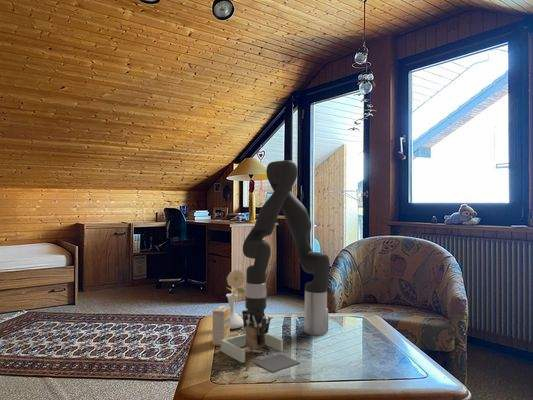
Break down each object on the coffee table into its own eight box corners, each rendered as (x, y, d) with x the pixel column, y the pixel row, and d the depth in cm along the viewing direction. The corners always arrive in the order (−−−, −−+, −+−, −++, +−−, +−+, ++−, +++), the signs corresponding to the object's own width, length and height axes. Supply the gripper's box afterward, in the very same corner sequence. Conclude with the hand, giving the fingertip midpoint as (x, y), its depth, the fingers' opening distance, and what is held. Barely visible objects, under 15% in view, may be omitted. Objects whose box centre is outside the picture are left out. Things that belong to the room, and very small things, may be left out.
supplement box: (224, 346, 148) (224, 311, 149) (211, 345, 149) (212, 310, 150) (230, 339, 157) (230, 305, 157) (218, 338, 158) (219, 305, 158)
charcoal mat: (280, 354, 141) (280, 353, 141) (299, 363, 134) (299, 362, 134) (253, 362, 134) (253, 361, 134) (272, 372, 126) (272, 371, 126)
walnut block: (256, 342, 146) (256, 323, 146) (265, 346, 143) (265, 326, 143) (245, 345, 143) (245, 325, 143) (254, 349, 139) (254, 329, 139)
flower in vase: (212, 327, 171) (213, 269, 171) (229, 321, 180) (230, 266, 181) (236, 333, 163) (237, 272, 164) (252, 326, 173) (253, 269, 173)
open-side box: (260, 340, 155) (260, 330, 155) (283, 350, 145) (283, 339, 145) (220, 351, 144) (220, 339, 144) (242, 362, 133) (242, 350, 134)
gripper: (276, 297, 140) (276, 346, 140) (252, 290, 151) (251, 335, 151) (259, 300, 135) (259, 350, 135) (235, 292, 146) (235, 339, 146)
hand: (255, 342), depth 143 cm, fingers closed on walnut block, 5 cm apart
